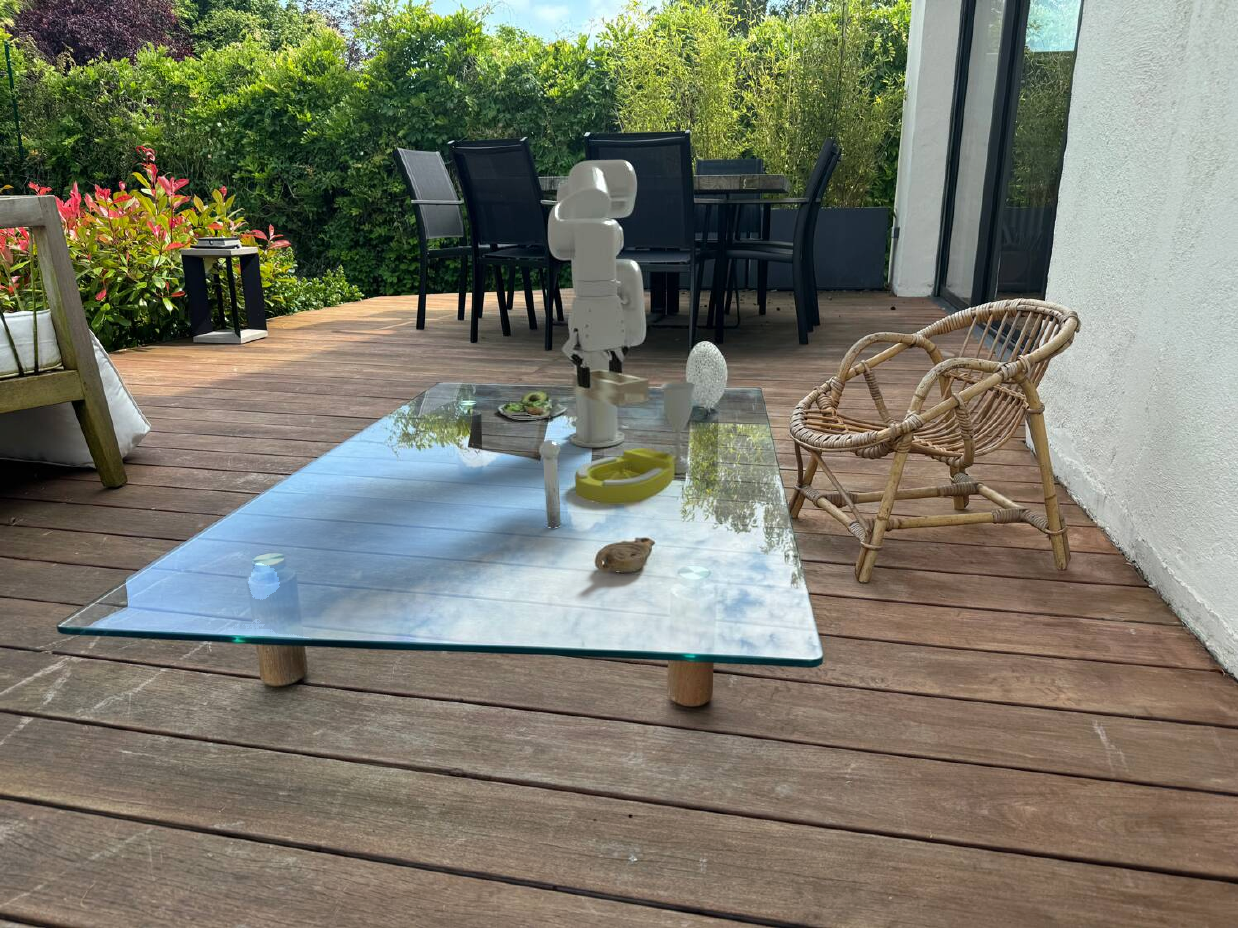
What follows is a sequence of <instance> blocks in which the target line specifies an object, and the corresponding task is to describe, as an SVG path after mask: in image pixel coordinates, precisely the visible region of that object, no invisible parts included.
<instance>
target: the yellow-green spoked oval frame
mask: <svg viewBox="0 0 1238 928" xmlns="http://www.w3.org/2000/svg"><path fill="white" fill-rule="evenodd" d="M674 458H675V456H674V455H673V454H672V455H671V454H670V453H666V452H662V451H658V450H654V449H649V448H643V447H642V448H640V447H639V448H634V449H633V448H632V449H626V450H623V455H622V456H619V457H617V456H609V457H604V458H600V459H597V460H593V461H589V462H586V463H584V464H583V465H581V466H579V468H578V469H577V471H576V472H575V474H574V482H575V484H574V485H575V493H576V495H577V497H580V498H582V499H584V501H585V500H586V501H589V502H592V501H593V502H592V503H596V504H597V503H599V504H606V505H607V504H608V505H610V504H611V505H617V504H618V505H619V504H620V505H621V504H631V503H635V502H636V503H637V502H640V501H644V500H647V499H650V498H651V497H654V496H656V495H658V494H659V493H660V492H662V491H663V490H665V489H666V488H667V487H668V486H669V485H671V483H672V482H673V481H674V479H675V473H674Z"/></svg>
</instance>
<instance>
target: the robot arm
mask: <svg viewBox="0 0 1238 928" xmlns="http://www.w3.org/2000/svg"><path fill="white" fill-rule="evenodd" d="M567 179H568V181H567V182H565V183H562V184H561V185H560V186H559V187H558V189H557V190H556V191H557V192H556V203H555V204H554V205H553V207H552V209H551V210H550V212H549V216H548V223H547V241H548V247H549V251H550V253H551V255H552V256H553V257H554V258H555V259H558V260H560V261H571V280H572V288H573V293H574V295H575V297H574V298H572V301H571V305H570V306H571V307H570V308H571V309H570V313H569V316H568V319H567V320H568V321H567V325H568V326H567V327H568V333H569V338H568V340H567V341H566V342H565V343H564V344H563V346H561V351H562V352H563V353H564V355H565V356H566V357H568V360H570V362H571V363H572V364H573V368H574V373H577V382H578V386H579V387H583V388H590V371H591V370H597V369H603V370H608V371H612V372H616V373H621V374H623V365H622V364H623V362H624V361H625V357H626V355H627V353H628V352H629V349H630V348H631V347H635V346H636V347H637V346H639V345H641V344H642V343H643V342H644V340H645V338H646V334H647V323H646V322H647V321H646V320H647V319H646V308H645V307H646V305H645V296H644V295H645V294H644V282H643V275H642V270H641V268H640V265H639V263H637V262H636V261H635V260H633V259H630V258H626V259H625V258H621V259H620V258H617V256H618V255H619V253H620V252H621V250H623V247H624V230H623V228H622V226H620V223H618V221H617V220H616V219H621V218H627V217H629V216H631V214H632V213H633V210H634V207H635V203H636V197H637V192H638V191H637V190H638V181H637V175H636V171H635V169H634V166H633V165H632V164H631V163H630V162H629V161H627V160H624V159H606V160H605V159H600V160H599V159H596V160H593V159H591V160H583V161H579V163H576V164H575V165H573V166H572V168H571V169H570V171H569V173H568V177H567ZM606 351H608V353H607V352H606ZM608 354H609V355H608ZM575 413H576V415H575V416H576V418H575V420H572V421H571V426H572V427H574V428H575V433H574V432H573V434H571V437H570V441H571V443H572V444H573V445H575V446H578V447H581V448H583V447H584V448H607V447H613V446H616V445H620V444H621V443H622V442H624V441H625V433H624V432H622V431H620V430H618V429H619V428H618V406H615V405H611V404H607V403H604V402H600V401H596V400H593V399H589V398H586V397H582V396H578V395H575Z"/></svg>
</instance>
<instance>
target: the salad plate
mask: <svg viewBox="0 0 1238 928" xmlns="http://www.w3.org/2000/svg"><path fill="white" fill-rule="evenodd" d="M549 398H550V397H549V395H548V394H547V393H546V392H545V391H542V390H535V391H531V392H528V393H525V394H524V395H523V396H522V397H521V400H520V402H510V401H509V402H508V403H505V404H501V405H499V406H498V407H497V411H498V413H499V412H502V413H503V412H507V413H516V412H517V413H518V412H527V413H528V414H531V415H539V416H534V417H530V416H521V415H520V416H511V415H507V414H505V413H503V414H505V415H506V416H510V417H512V418H516V419H539V418H549V417H553V418H555V417H557V416H559V415H561V414H563V413H564V412H566V411H567V407H565V406H563V405H562V404H559V399H557V398H552V399H549ZM504 408H505V411H503V410H504ZM554 416H555V417H554ZM549 419H550V418H549Z"/></svg>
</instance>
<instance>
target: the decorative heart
mask: <svg viewBox="0 0 1238 928" xmlns="http://www.w3.org/2000/svg"><path fill="white" fill-rule="evenodd" d="M685 367H686V368H685V380H686V381H685V382H690V383H693V384H694V385H695V386H694V389H693V391H692V401H693V402H695V403H696V404H697V405H698V406H699V407H700V408H702V407H707V408H706V410H707V409H708V413H709V412H710V413H711V408H712V407H714V406H715V405H716V404H717V403H719V401H720V400H721V398H722V397H723V395H724V393H725V390H726V387H727V384H728V383H727V382H728V368H727V362H726V359H725V357H724V355H722V353H721V351H720V350H719V349H718V347H717V346H716V345H715V344H713V343H712V342H710V341H705V340H704V341H701V342H698V343H697V344H695V346H693V348H692V349H691V350H690V353H689V355H688V358H687V361H686V366H685ZM705 404H706V406H705ZM708 407H709V408H708Z"/></svg>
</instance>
